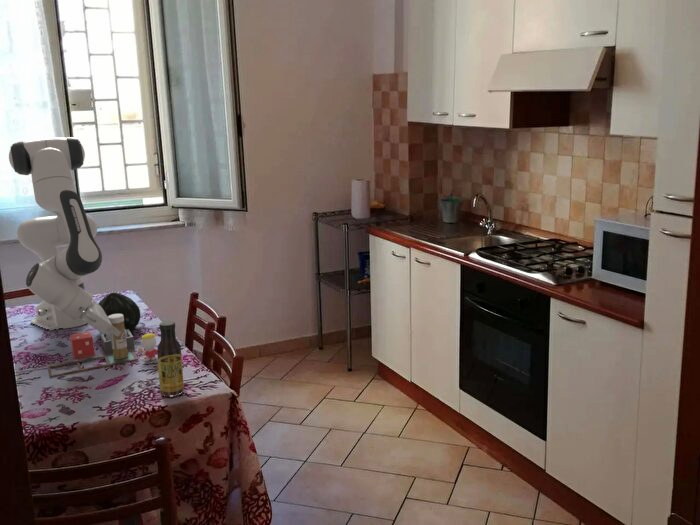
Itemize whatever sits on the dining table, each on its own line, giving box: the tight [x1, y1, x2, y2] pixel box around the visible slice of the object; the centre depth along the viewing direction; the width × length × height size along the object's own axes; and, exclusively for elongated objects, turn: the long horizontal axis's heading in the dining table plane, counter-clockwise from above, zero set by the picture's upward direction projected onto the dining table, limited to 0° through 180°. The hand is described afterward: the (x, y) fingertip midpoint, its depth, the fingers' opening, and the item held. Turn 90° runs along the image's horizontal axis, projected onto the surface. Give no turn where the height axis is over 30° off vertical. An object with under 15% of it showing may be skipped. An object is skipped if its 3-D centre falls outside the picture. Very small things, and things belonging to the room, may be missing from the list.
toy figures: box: [136, 333, 158, 362], centre depth 214 cm, size 12×4×8 cm, turn 112°
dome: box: [106, 330, 127, 341], centre depth 225 cm, size 6×6×6 cm
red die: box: [69, 331, 96, 359], centre depth 221 cm, size 6×6×6 cm
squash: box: [98, 292, 141, 332], centre depth 240 cm, size 14×15×15 cm
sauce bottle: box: [156, 320, 185, 396], centre depth 186 cm, size 7×6×20 cm
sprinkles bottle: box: [108, 314, 129, 359], centre depth 214 cm, size 5×5×14 cm
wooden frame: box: [47, 349, 139, 379], centre depth 212 cm, size 25×9×1 cm, turn 117°
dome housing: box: [100, 329, 135, 355], centre depth 225 cm, size 9×9×4 cm
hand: (116, 329), depth 214 cm, fingers open, 8 cm apart
